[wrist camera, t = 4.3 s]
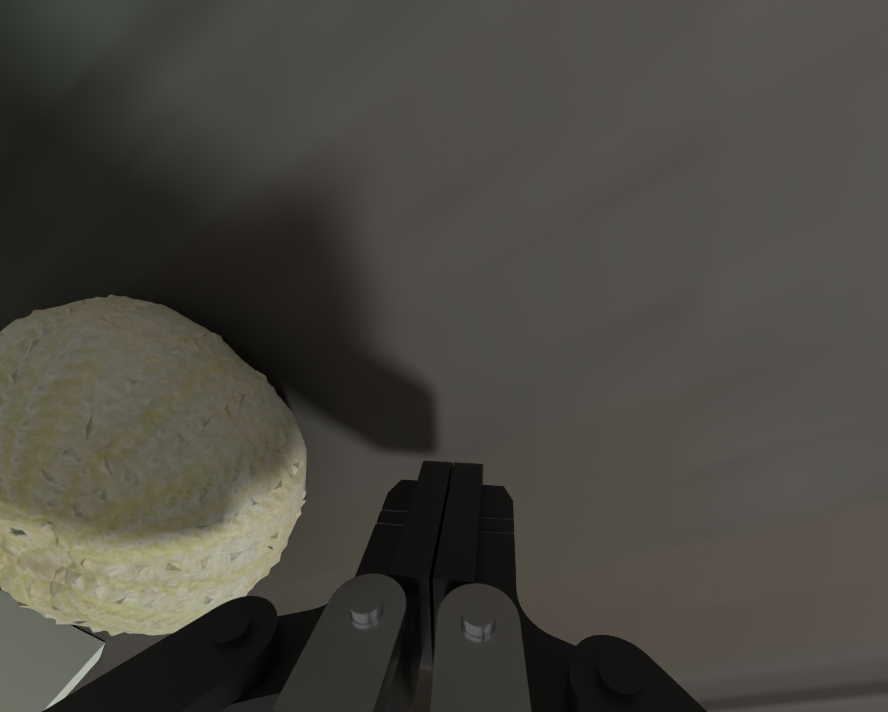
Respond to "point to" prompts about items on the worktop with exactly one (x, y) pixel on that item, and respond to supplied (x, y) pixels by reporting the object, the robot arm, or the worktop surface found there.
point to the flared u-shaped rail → (40, 658)
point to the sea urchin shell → (138, 467)
